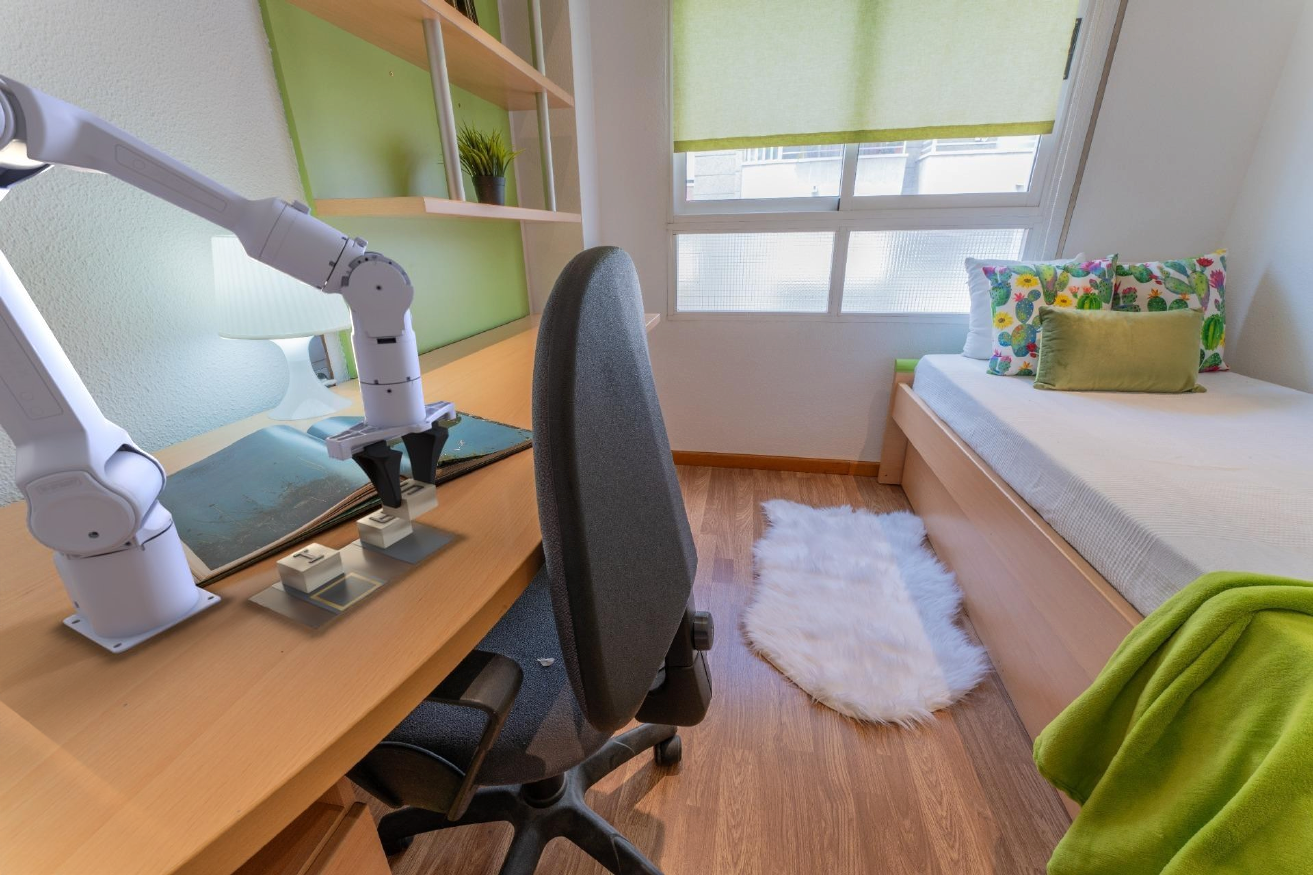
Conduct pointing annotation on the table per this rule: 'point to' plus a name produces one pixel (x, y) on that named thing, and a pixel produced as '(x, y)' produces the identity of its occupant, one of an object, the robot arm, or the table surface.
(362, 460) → the robot arm
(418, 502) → the tile
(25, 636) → the table surface
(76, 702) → the table surface
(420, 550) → the letter board
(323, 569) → the tile
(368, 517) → the tile
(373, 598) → the table surface
